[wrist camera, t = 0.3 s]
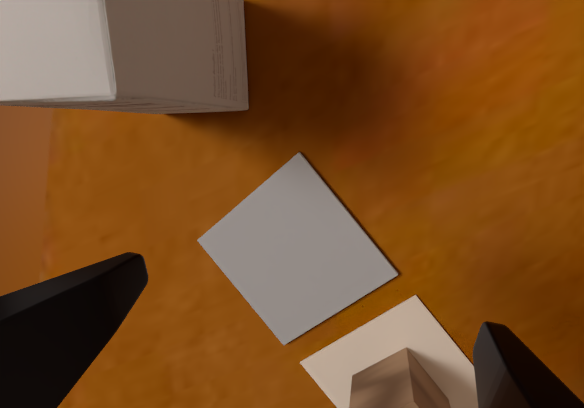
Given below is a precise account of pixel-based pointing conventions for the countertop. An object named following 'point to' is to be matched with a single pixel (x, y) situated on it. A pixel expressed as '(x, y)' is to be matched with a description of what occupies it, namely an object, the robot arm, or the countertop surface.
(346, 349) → the card
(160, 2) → the supplement box
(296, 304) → the grey mat
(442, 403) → the walnut block
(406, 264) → the countertop surface
